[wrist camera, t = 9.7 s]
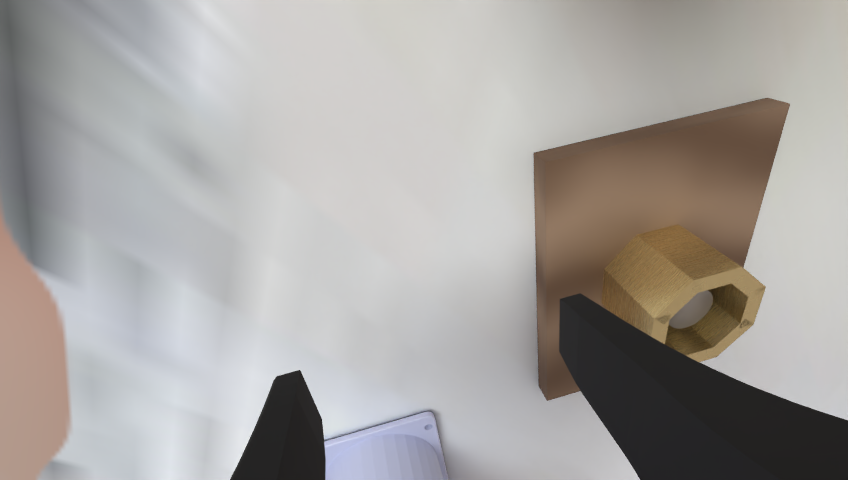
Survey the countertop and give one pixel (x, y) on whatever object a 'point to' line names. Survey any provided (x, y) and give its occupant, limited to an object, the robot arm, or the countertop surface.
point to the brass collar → (681, 291)
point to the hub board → (645, 206)
